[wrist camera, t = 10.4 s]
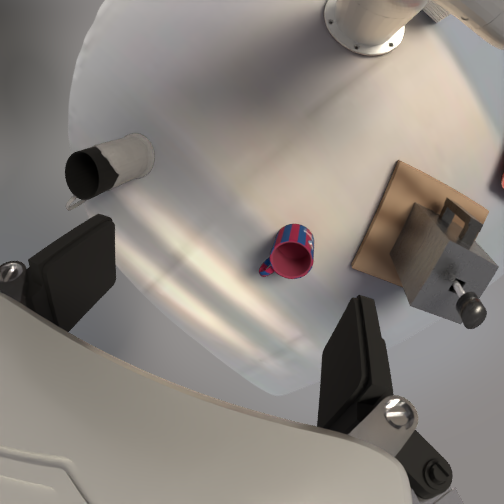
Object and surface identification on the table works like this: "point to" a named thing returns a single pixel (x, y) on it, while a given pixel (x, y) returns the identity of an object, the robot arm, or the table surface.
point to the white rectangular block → (435, 11)
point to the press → (440, 259)
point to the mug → (290, 253)
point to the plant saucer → (502, 181)
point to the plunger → (469, 307)
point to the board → (405, 217)
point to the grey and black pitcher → (107, 166)
